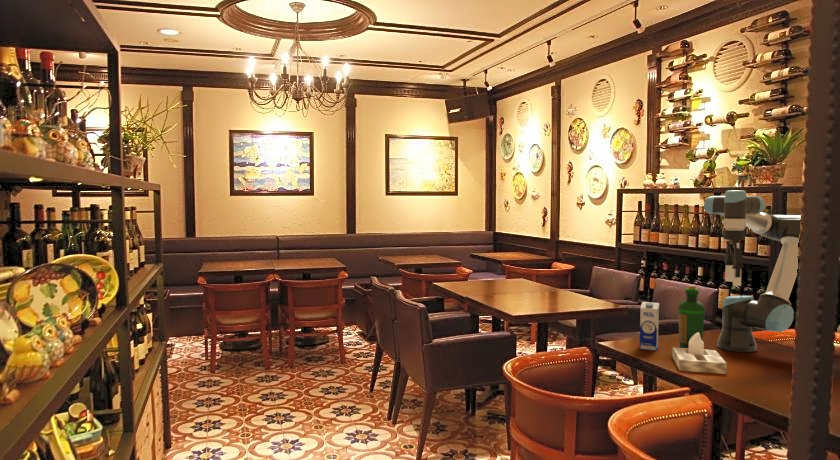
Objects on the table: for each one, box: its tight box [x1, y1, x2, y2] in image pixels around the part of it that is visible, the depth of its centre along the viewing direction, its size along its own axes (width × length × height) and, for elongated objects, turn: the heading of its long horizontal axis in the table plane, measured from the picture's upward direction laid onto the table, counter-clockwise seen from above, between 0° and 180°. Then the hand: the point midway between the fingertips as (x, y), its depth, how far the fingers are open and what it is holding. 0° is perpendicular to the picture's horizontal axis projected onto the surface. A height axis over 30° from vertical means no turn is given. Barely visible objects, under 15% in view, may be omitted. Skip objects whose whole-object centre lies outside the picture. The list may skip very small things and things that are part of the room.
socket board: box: [671, 347, 728, 375], centre depth 232 cm, size 16×21×4 cm
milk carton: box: [639, 301, 660, 352], centre depth 258 cm, size 7×7×20 cm
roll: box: [688, 332, 705, 355], centre depth 237 cm, size 6×12×6 cm
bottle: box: [677, 284, 706, 348], centre depth 255 cm, size 11×11×28 cm
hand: (732, 283), depth 234 cm, fingers open, 13 cm apart
